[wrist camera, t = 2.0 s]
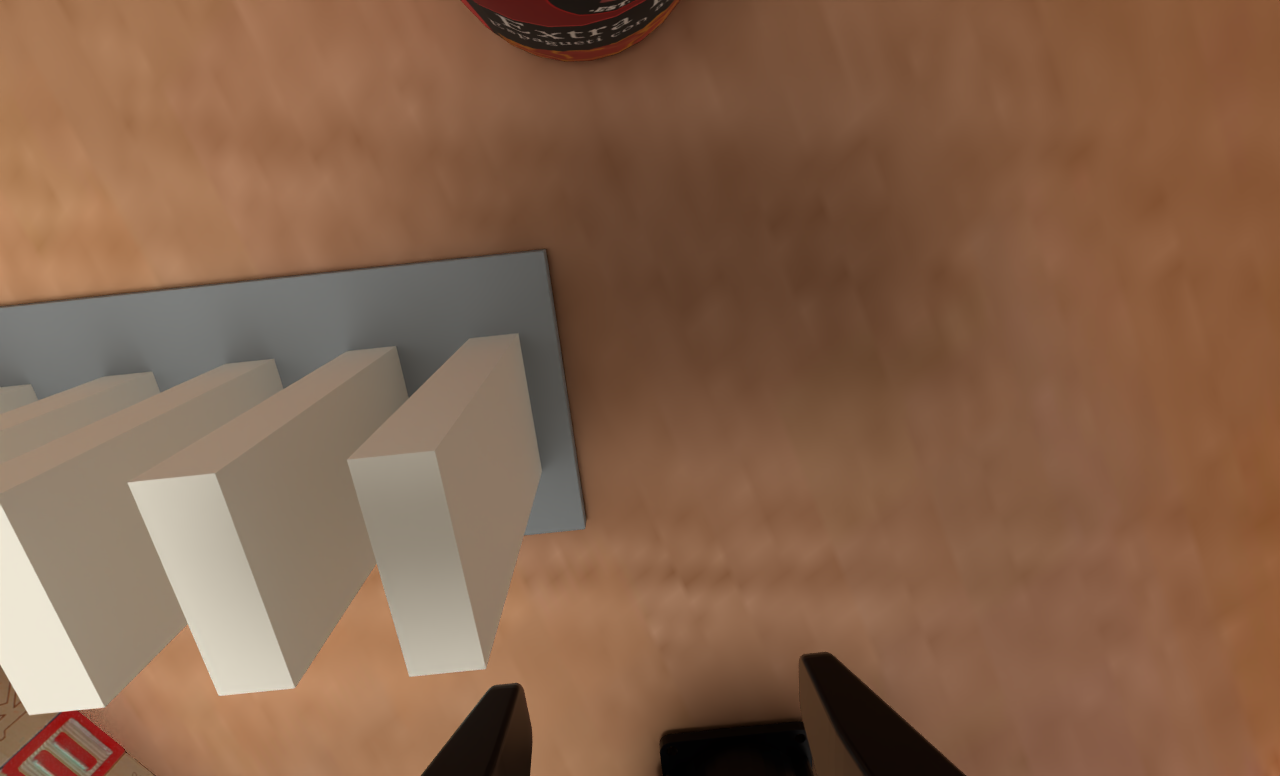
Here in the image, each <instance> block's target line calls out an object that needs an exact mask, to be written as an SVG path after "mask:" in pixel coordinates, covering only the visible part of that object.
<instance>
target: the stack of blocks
mask: <svg viewBox="0 0 1280 776" xmlns="http://www.w3.org/2000/svg"><path fill="white" fill-rule="evenodd" d="M0 776H155V775H154V774H153V773H151V772H150V771H149V770H147V769H146V768H145V767H144V766H142V765H141V764H140V763H139V762H138V761H136V760H135V759H134V758H133V757H131V756H130V755H129V754H127V753H125V750H124V748H123V747H121V746H120V745H119V744H118V743H117V742H115V741H114V740H113V739H112V738H111V737H109V736H108V735H107V734H106V733H104V732H103V731H102V730H101V729H99V728H98V727H97V726H96V725H94V724H93V723H92V722H91V721H90V720H88V719H87V718H86V717H85V716H83V715H82V714H81V713H80V712H78V711H77V710H74V711H65V712H55V713H45V714H35V715H29V714H28V712H27V711H26V709H25V707H24V705H23V704H22V702H21V700H20V698H19V697H18V695H17V693H16V691H15V690H14V688H13V686H12V684H11V683H10V681H9V679H8V677H7V676H6V674H5V672H4V670H3V669H2V667H1V665H0Z"/></svg>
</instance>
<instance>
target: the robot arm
mask: <svg viewBox="0 0 1280 776" xmlns="http://www.w3.org/2000/svg"><path fill="white" fill-rule="evenodd" d="M799 701H800V709H801V715H802V719H803V722H788V723H778V724H768V725H758V726H748V727H738V728H728V729H718V730H708V731H698V732H688V733H678V734H669V735H666V736H664V737H662V739H661V740H660V756H661V764H662V772H663V776H814V775H813V771H812V758H813V762H814V766H815V769H816V773H817V776H966V775H965V774H964V773H963V772H962V771H960V770H959V769H958V768H957V767H956V766H955V765H954V764H953V763H952V762H950V761H949V760H948V759H947V758H946V757H945V756H944V755H943V754H942V753H941V752H939V751H938V750H937V749H936V748H935V747H934V746H933V745H932V744H931V743H929V742H928V741H927V740H926V739H925V738H924V737H923V736H922V735H921V734H920V733H918V732H917V731H916V730H915V729H914V728H913V727H912V726H911V725H910V724H909V723H907V722H906V721H905V720H904V719H903V718H902V717H901V716H900V715H899V714H897V713H896V712H895V711H894V710H893V709H892V708H891V707H890V706H889V705H888V704H886V703H885V702H884V701H883V700H882V699H881V698H880V697H879V696H878V695H876V694H875V693H874V692H873V691H872V690H871V689H870V688H869V687H868V686H867V685H865V684H864V683H863V682H862V681H861V680H860V679H859V678H858V677H857V676H856V675H854V674H853V673H852V672H851V671H850V670H849V669H848V668H847V667H846V666H844V665H843V664H842V663H841V662H840V661H839V660H838V659H837V658H836V657H835V656H833V655H832V654H830V653H828V652H820V653H810V654H803V655H802V656H801V657H800V659H799ZM798 734H799V735H798ZM531 755H532V727H531V722H530V717H529V712H528V708H527V703H526V698H525V693H524V689H523V687H522V686H521V685H520V684H518V683H511V684H501V685H494V686H492V687H491V688H490V689H489V690H488V691H487V692H486V693H485V695H484V696H483V697H482V698H481V700H480V701H479V702H478V703H477V705H476V706H475V707H474V709H473V710H472V711H471V712H470V714H469V715H468V716H467V717H466V719H465V720H464V721H463V723H462V724H461V725H460V726H459V728H458V729H457V730H456V731H455V733H454V734H453V735H452V737H451V738H450V739H449V740H448V742H447V743H446V744H445V745H444V747H443V748H442V749H441V751H440V752H439V753H438V754H437V756H436V757H435V758H434V759H433V761H432V762H431V763H430V765H429V766H428V767H427V768H426V770H425V771H424V772H423V773H422V775H421V776H530V768H531Z"/></svg>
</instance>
